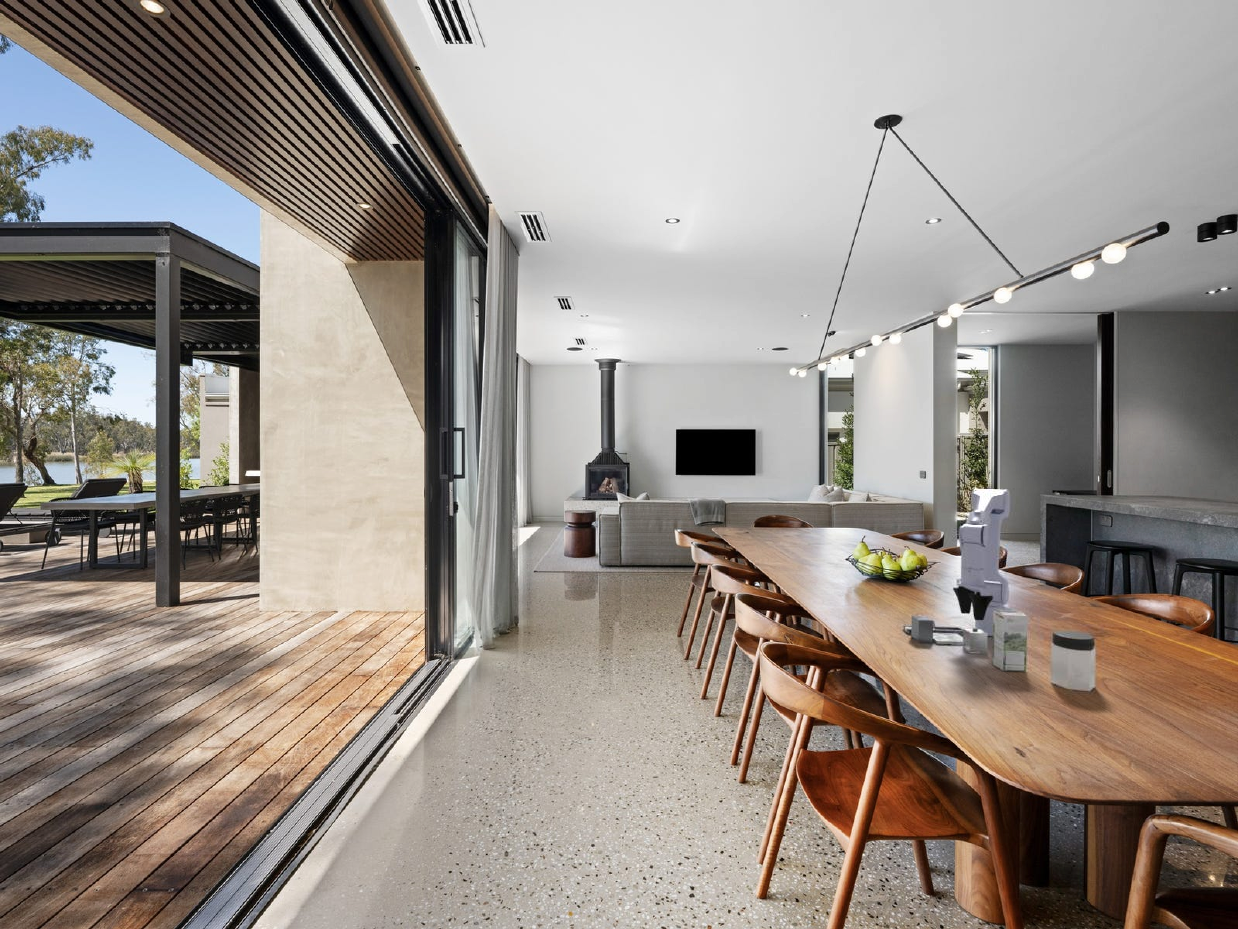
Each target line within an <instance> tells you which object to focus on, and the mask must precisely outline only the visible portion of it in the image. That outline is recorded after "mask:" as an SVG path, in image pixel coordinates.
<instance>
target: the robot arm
mask: <svg viewBox="0 0 1238 929" xmlns="http://www.w3.org/2000/svg"><path fill="white" fill-rule="evenodd" d="M970 503H971V507H972V509H973V511H971V512H970V513H969V514H968V517H967V519H966V521H965V523H964V524H963V525H960V526H959V530H958V540H959V542H958V543H959V550H960V551H961V552H960V553H961V554H960V557H961V558H960V562H961V563H960V571H961V572H960V578H956V586H957V587H953V588H952V590H953V592H954V594H955V596H956V599H957V601H958V606H959V610H960V614H965V615H966V614H968V615H969V614H970V613H971V612H972V613H973V619H974V621H975V622H974V623H975V624H974V626H975V627H973V626H972V627H971V626H970V627H969V629H973V628H976V629H981V630H982V631H984V632H986V633H987V637H993V612H994V610H1012V608H1011V607H1010V606H1009V605H1008V604H1009V603H1008V602H1009V598H1010V597H1009V595H1010V590H1009V581H1008V579H1007V578H1006V577H1005V576H1004V575H1002V574H1001V573H1000V572H999V569H1000V567H999V564H1000V548H1001V547H1000V546H1001V545H1000V544H1001V526H1002V523H1003V520H1004V519H1006V518H1009V516H1010V512H1011V511H1010V510H1011V492H1010V491H1009V490H1008V489H989V488H987V489H986V488H985V489H983V488H974V489H973V490H971V495H970ZM971 610H972V611H971ZM970 615H971V614H970Z"/></svg>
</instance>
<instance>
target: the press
mask: <svg viewBox="0 0 1238 929" xmlns="http://www.w3.org/2000/svg"><path fill="white" fill-rule="evenodd" d="M905 627H912V629H908V630H907V632H906V631H905ZM902 628H903V631H904V632H906V633H908V634H907V635H911V638H912V637H913V639H914V640H915V641H916V640H917V641H918V643H919V642H924V643H925V642H926V643H925V644H933V643H934V644H935V643H936V645H937V644H951V645H950V646H963V629H964V628H962V627H960V626H959V627H958V626H941V625H940V626H937V625H936V623H935V621H934V620H933V619H931V618H930V617H929V616H928V615H924V614H922V615H915V614H914V615H913V614H912V615H911V625H906V624H905V625H903V626H902ZM917 641H916V642H917Z"/></svg>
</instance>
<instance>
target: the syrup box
mask: <svg viewBox="0 0 1238 929" xmlns="http://www.w3.org/2000/svg"><path fill="white" fill-rule="evenodd" d="M1028 619H1029V616H1027V614H1025V613H1023V611H1020V610H1016V609H1015V610H1014V609H1011V610H994V612H993V636H992V658H991V659H992V660H991V661H992V664H994V665H993V666H995V668H996V667H997V668H998V667H999V668H1000V669H999V668H998V669H999V670H1001V671H1003V672H1020V673H1021V672H1025V673H1026V672H1027V659H1028V658H1027V657H1028V656H1027V654H1028V653H1027V652H1028V621H1029V620H1028Z"/></svg>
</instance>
